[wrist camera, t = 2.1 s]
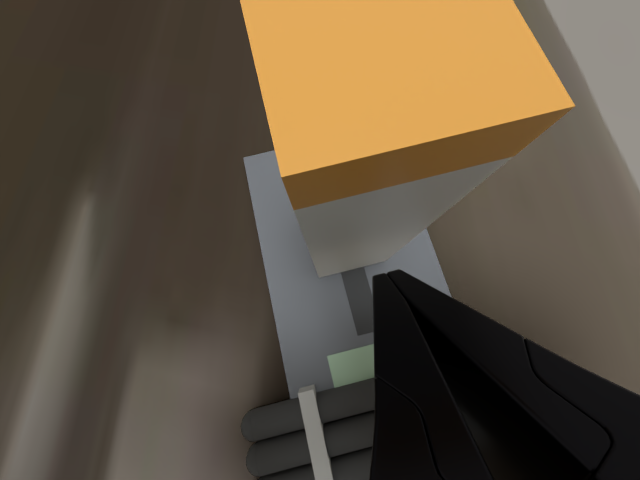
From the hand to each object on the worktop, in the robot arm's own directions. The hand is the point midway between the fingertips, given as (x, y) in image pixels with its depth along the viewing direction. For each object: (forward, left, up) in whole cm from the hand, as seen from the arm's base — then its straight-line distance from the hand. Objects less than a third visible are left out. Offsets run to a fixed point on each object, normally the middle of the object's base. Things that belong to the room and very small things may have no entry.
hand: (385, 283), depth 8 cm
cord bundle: (-4, -5, -8) cm, 10 cm away
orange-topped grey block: (+2, +3, -7) cm, 8 cm away
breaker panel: (+2, +2, -8) cm, 9 cm away
